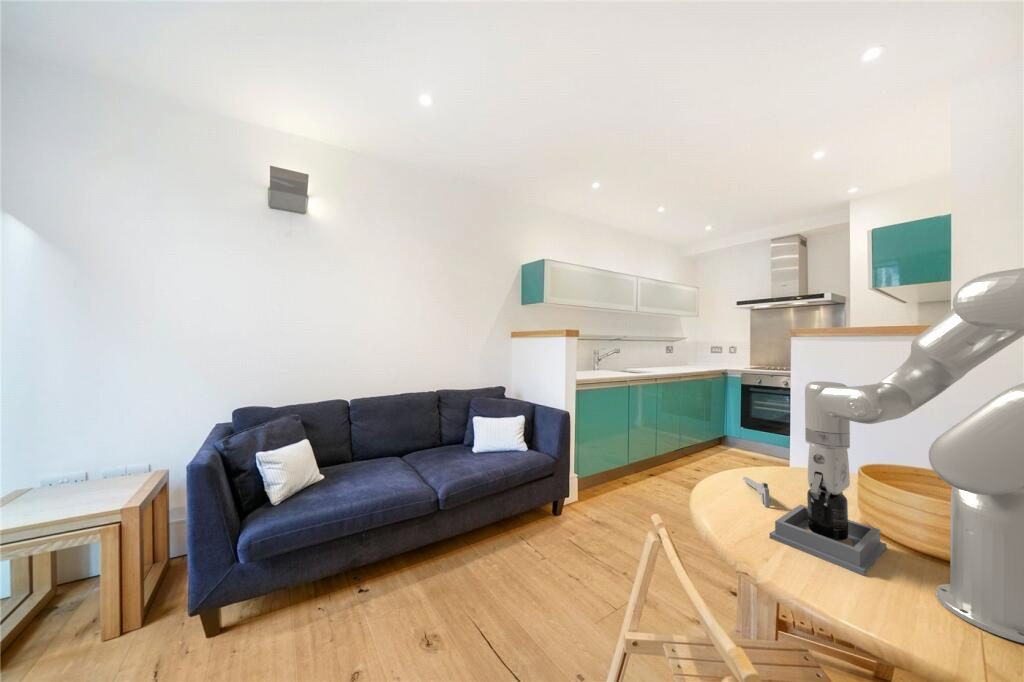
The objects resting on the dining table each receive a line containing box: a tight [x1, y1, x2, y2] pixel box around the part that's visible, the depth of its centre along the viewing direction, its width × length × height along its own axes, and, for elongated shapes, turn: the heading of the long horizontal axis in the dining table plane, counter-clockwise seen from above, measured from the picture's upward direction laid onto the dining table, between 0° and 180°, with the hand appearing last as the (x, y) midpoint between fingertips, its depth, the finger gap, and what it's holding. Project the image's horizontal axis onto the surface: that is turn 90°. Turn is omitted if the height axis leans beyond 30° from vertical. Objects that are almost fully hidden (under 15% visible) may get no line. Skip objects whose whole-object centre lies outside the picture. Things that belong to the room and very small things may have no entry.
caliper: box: [742, 476, 771, 508], centre depth 108 cm, size 20×1×6 cm, turn 163°
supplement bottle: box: [806, 487, 849, 541], centre depth 81 cm, size 7×7×12 cm
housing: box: [769, 504, 887, 576], centre depth 81 cm, size 16×16×4 cm
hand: (827, 516), depth 81 cm, fingers closed on supplement bottle, 6 cm apart
